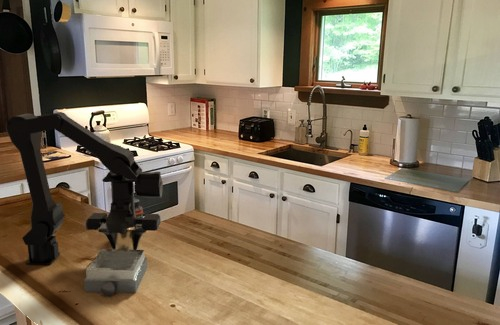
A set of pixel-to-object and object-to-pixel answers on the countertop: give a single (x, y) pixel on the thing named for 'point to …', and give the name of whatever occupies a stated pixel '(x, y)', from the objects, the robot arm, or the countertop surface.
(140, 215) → the supplement bottle
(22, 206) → the countertop surface
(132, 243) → the spout can
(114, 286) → the grey open box
